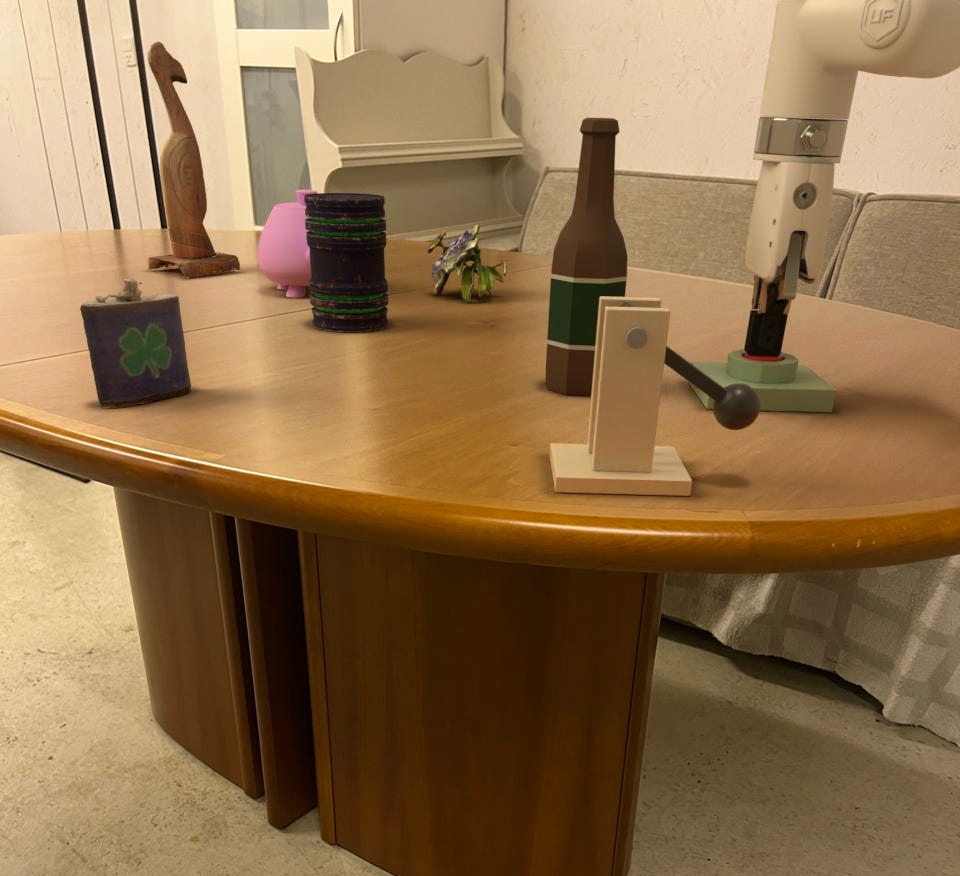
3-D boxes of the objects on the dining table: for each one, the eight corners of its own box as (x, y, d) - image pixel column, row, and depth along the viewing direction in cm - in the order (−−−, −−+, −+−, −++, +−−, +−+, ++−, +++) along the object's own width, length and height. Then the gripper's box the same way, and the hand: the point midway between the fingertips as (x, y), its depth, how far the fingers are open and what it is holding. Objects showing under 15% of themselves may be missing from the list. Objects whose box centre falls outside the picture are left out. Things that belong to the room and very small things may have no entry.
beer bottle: (530, 379, 97) (544, 116, 85) (598, 375, 99) (620, 118, 87) (559, 399, 90) (577, 117, 78) (630, 394, 92) (659, 119, 81)
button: (773, 368, 93) (777, 351, 92) (783, 377, 90) (786, 359, 89) (738, 367, 93) (741, 350, 92) (746, 376, 90) (749, 358, 89)
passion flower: (440, 332, 142) (419, 258, 142) (507, 316, 143) (487, 243, 144) (444, 299, 131) (422, 219, 131) (518, 283, 132) (495, 204, 132)
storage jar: (381, 316, 124) (377, 192, 117) (396, 331, 116) (393, 199, 109) (306, 318, 122) (297, 192, 114) (317, 334, 113) (308, 199, 106)
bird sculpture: (244, 271, 154) (222, 43, 138) (186, 279, 146) (155, 38, 130) (202, 264, 160) (177, 45, 144) (144, 271, 152) (109, 39, 136)
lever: (733, 430, 72) (763, 394, 70) (743, 444, 69) (775, 407, 67) (599, 333, 68) (627, 293, 67) (603, 343, 65) (633, 301, 64)
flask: (183, 386, 91) (167, 271, 86) (199, 393, 89) (184, 275, 84) (93, 404, 85) (70, 281, 80) (108, 411, 84) (85, 286, 78)
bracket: (672, 460, 75) (694, 295, 69) (690, 496, 68) (716, 315, 62) (549, 457, 75) (559, 291, 69) (555, 492, 68) (567, 312, 62)
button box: (801, 385, 97) (809, 346, 95) (831, 412, 88) (840, 370, 86) (687, 382, 97) (692, 343, 95) (706, 409, 88) (712, 367, 86)
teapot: (384, 302, 133) (381, 196, 126) (276, 307, 128) (267, 197, 121) (346, 278, 150) (342, 184, 143) (249, 282, 145) (240, 185, 138)
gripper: (871, 147, 75) (823, 375, 84) (816, 141, 88) (779, 339, 97) (779, 144, 75) (741, 372, 84) (737, 138, 88) (708, 336, 97)
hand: (761, 354), depth 91 cm, fingers closed
